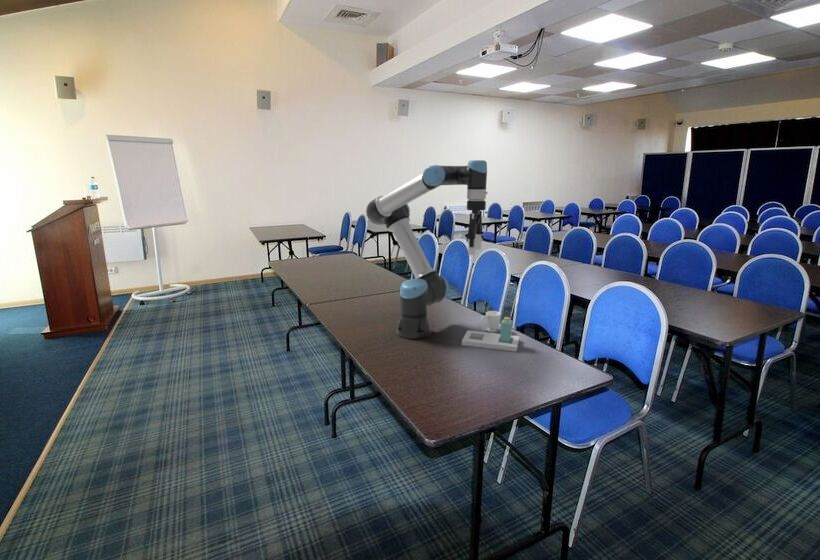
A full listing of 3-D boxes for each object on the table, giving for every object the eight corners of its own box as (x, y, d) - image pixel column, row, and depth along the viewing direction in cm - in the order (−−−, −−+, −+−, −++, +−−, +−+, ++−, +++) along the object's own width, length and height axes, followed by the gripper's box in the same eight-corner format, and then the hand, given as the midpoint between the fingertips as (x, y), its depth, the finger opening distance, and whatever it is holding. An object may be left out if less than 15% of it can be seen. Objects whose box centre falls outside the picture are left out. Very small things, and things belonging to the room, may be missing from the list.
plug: (499, 345, 171) (501, 318, 168) (501, 342, 174) (502, 315, 172) (509, 347, 170) (511, 319, 167) (510, 343, 173) (512, 316, 170)
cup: (503, 331, 186) (504, 314, 184) (482, 334, 183) (483, 316, 181) (495, 326, 193) (496, 309, 191) (475, 329, 190) (476, 312, 188)
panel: (461, 344, 172) (461, 340, 171) (467, 334, 183) (467, 330, 182) (516, 351, 165) (516, 346, 164) (519, 340, 176) (519, 336, 175)
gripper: (480, 202, 156) (478, 258, 161) (490, 198, 179) (488, 247, 184) (460, 201, 158) (459, 257, 163) (472, 198, 181) (471, 247, 186)
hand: (474, 252), depth 173 cm, fingers open, 13 cm apart
